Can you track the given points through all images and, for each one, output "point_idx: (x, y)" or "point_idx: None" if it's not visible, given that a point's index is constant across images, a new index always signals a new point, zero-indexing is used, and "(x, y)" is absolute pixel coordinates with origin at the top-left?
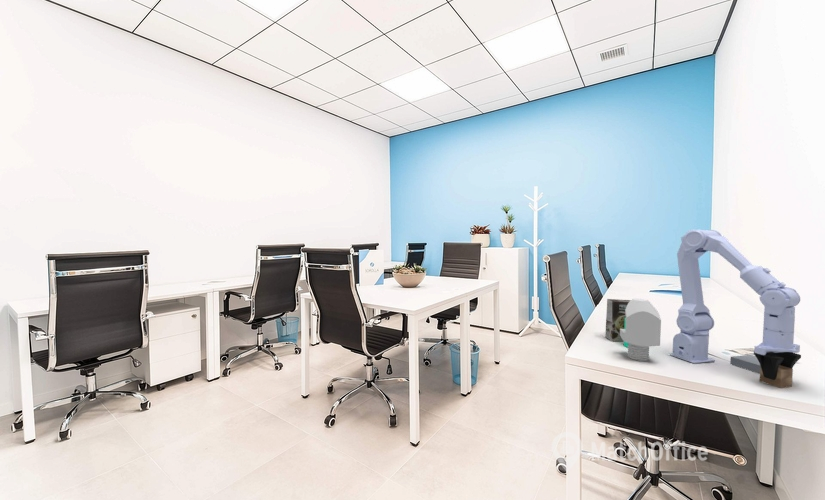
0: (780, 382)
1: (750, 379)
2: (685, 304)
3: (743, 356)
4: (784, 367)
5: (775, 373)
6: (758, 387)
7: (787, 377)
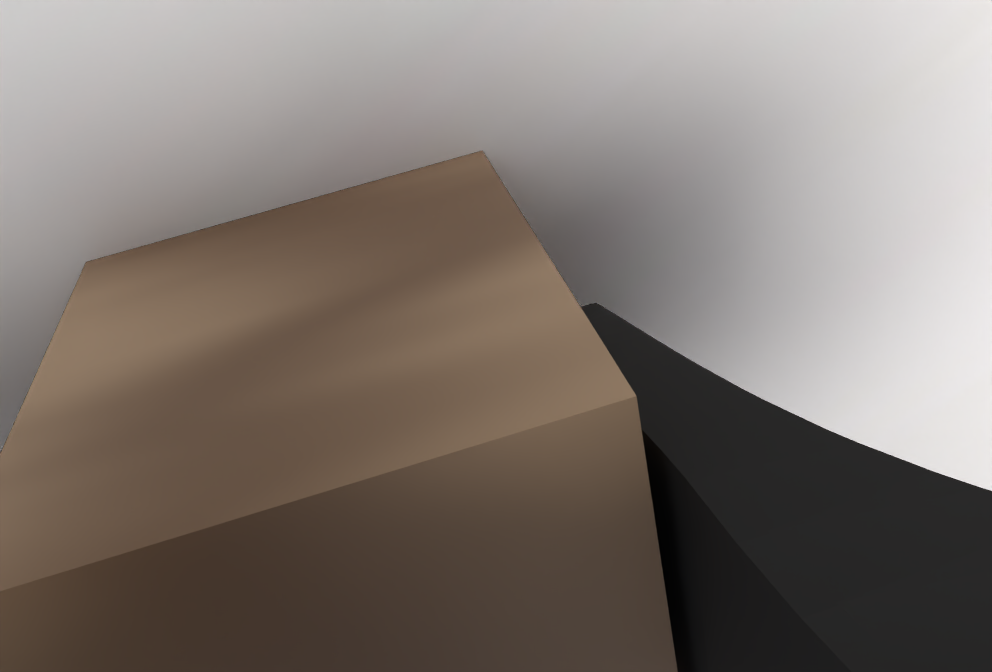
0: (512, 207)
1: None
2: None
3: None
4: None
5: (674, 370)
6: (942, 138)
7: (252, 338)
